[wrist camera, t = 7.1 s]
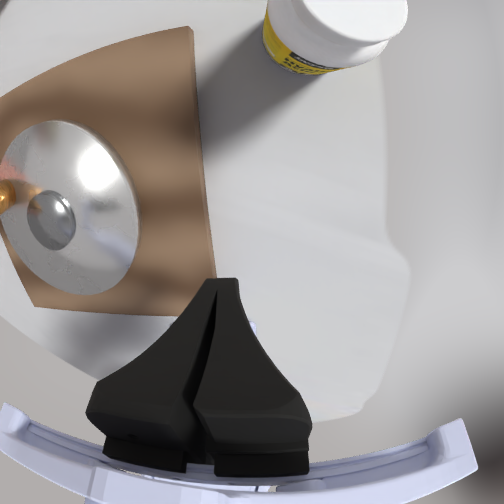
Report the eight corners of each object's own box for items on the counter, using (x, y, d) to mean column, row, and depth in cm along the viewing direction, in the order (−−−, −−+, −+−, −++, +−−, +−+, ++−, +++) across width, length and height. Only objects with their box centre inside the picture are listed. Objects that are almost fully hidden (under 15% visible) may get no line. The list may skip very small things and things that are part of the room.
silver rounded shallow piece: (171, 159, 16) (147, 180, 12) (121, 309, 22) (105, 345, 19) (-2, 95, 12) (-39, 104, 8) (-12, 234, 18) (-36, 256, 15)
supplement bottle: (269, 80, 15) (286, 62, 7) (255, 8, 12) (256, -66, 4) (350, 75, 15) (435, 68, 6) (337, 5, 12) (404, -51, 4)
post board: (220, 304, 25) (214, 353, 20) (40, 298, 25) (18, 330, 21) (193, 30, 13) (169, 8, 9) (-17, 113, 14) (-56, 127, 9)
